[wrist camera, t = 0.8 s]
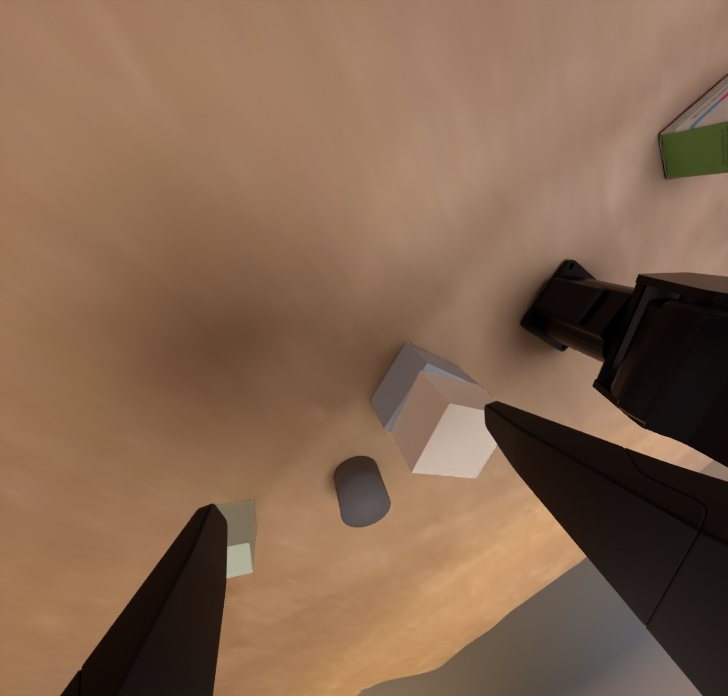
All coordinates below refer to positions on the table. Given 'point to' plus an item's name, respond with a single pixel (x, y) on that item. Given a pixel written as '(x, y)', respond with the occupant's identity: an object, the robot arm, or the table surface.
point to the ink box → (698, 137)
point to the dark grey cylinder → (361, 492)
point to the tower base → (409, 381)
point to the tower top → (444, 427)
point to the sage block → (240, 536)
